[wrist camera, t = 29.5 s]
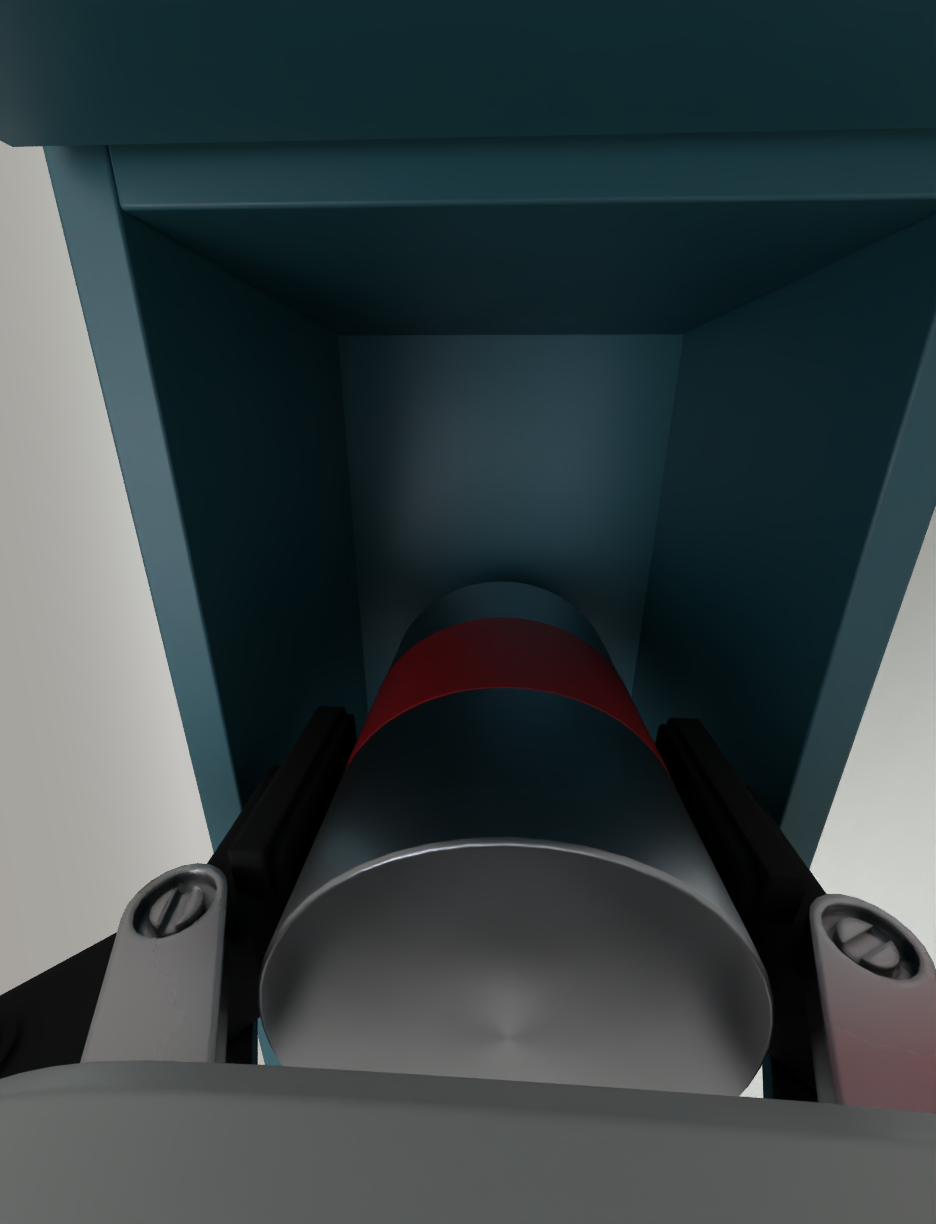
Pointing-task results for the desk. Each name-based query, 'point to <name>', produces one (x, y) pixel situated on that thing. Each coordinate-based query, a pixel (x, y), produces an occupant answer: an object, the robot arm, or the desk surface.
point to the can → (513, 879)
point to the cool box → (521, 417)
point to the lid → (457, 68)
